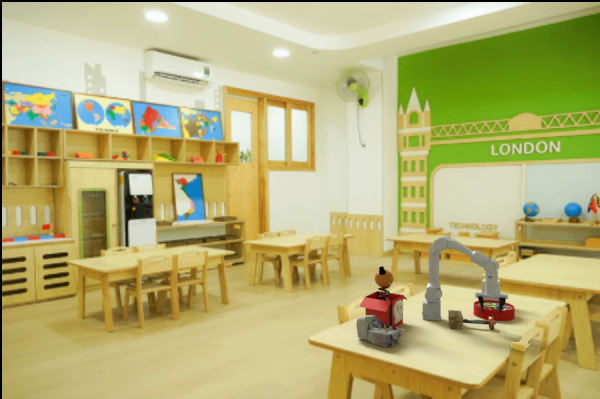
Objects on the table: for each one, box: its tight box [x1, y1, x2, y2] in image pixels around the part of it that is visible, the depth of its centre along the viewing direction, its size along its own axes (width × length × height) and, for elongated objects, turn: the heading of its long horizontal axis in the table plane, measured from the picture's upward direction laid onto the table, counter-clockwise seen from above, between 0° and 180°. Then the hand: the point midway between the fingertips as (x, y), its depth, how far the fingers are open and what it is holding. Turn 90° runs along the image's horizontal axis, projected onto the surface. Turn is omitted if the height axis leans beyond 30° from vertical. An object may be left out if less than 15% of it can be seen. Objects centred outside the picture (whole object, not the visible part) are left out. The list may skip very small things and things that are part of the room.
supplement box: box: [481, 277, 501, 301], centre depth 250 cm, size 9×9×15 cm
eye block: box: [447, 309, 464, 331], centre depth 215 cm, size 6×10×6 cm, turn 165°
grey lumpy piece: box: [356, 314, 404, 348], centre depth 196 cm, size 13×11×20 cm
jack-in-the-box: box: [358, 266, 408, 328], centre depth 218 cm, size 26×16×30 cm, turn 143°
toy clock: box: [473, 300, 515, 322], centre depth 232 cm, size 20×6×20 cm
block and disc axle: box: [463, 316, 497, 330], centre depth 212 cm, size 15×6×6 cm, turn 75°
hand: (491, 312), depth 211 cm, fingers open, 7 cm apart
